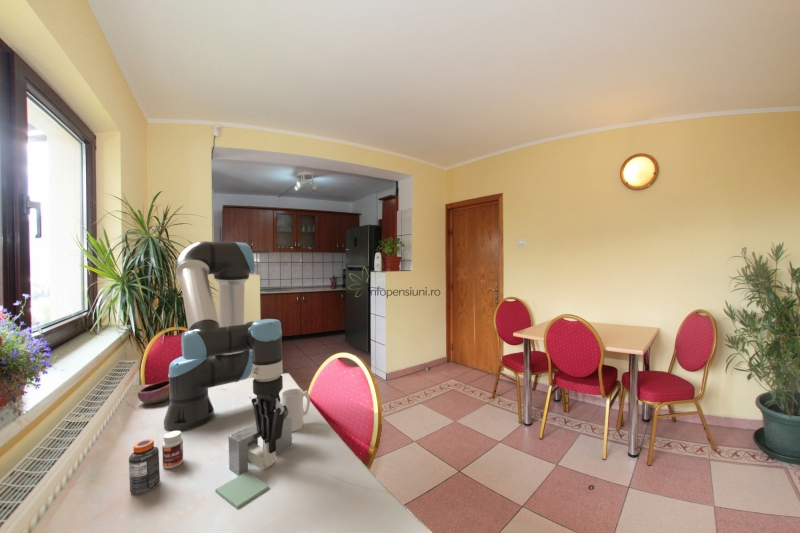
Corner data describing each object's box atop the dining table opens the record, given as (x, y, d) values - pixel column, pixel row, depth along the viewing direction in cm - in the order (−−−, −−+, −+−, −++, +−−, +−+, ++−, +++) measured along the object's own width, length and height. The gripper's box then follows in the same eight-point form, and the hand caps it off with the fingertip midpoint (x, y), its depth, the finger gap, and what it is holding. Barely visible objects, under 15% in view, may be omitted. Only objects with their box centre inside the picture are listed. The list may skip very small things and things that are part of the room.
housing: (229, 469, 88) (228, 421, 88) (282, 441, 101) (281, 399, 101) (239, 475, 85) (238, 426, 85) (292, 445, 98) (291, 403, 98)
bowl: (146, 411, 124) (146, 390, 124) (133, 404, 131) (132, 384, 131) (191, 396, 138) (191, 377, 138) (176, 390, 145) (176, 372, 145)
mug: (289, 434, 105) (288, 398, 105) (279, 428, 109) (278, 392, 109) (315, 422, 113) (315, 388, 112) (305, 417, 117) (304, 384, 117)
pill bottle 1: (153, 476, 85) (152, 433, 85) (164, 483, 82) (163, 439, 82) (125, 490, 80) (124, 445, 80) (136, 498, 77) (134, 451, 77)
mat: (215, 491, 79) (215, 489, 79) (246, 473, 86) (246, 471, 86) (237, 508, 73) (237, 506, 73) (268, 488, 80) (268, 485, 80)
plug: (230, 453, 95) (230, 433, 95) (246, 445, 99) (246, 426, 99) (259, 471, 86) (259, 449, 86) (276, 462, 90) (275, 440, 90)
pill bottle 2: (161, 471, 87) (160, 440, 87) (164, 461, 92) (163, 432, 92) (182, 465, 90) (181, 435, 90) (184, 456, 94) (183, 428, 94)
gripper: (241, 376, 88) (243, 461, 89) (269, 386, 81) (271, 479, 81) (266, 368, 95) (268, 448, 95) (294, 377, 87) (296, 463, 87)
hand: (269, 462), depth 88 cm, fingers closed
